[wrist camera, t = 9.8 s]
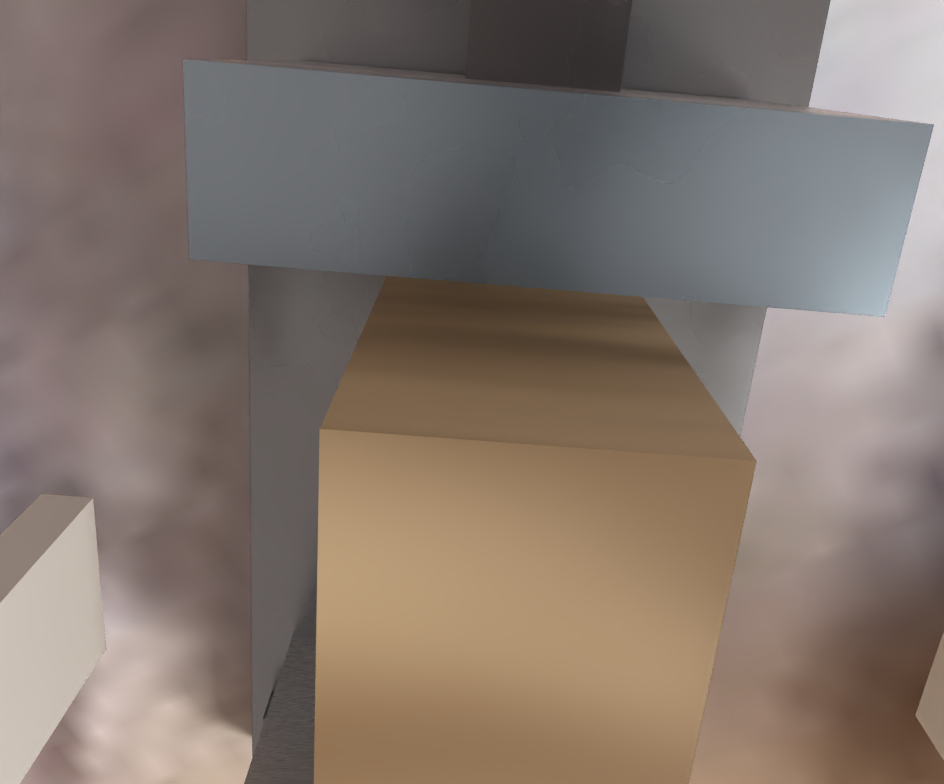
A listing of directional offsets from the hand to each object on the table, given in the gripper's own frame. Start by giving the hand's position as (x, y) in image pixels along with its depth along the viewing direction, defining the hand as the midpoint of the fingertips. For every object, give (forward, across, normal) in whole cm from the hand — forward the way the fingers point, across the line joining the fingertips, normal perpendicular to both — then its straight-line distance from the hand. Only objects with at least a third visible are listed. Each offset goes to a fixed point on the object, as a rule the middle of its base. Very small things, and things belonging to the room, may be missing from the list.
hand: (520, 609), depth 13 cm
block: (+7, 0, 0) cm, 7 cm away
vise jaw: (+7, 0, +9) cm, 11 cm away
